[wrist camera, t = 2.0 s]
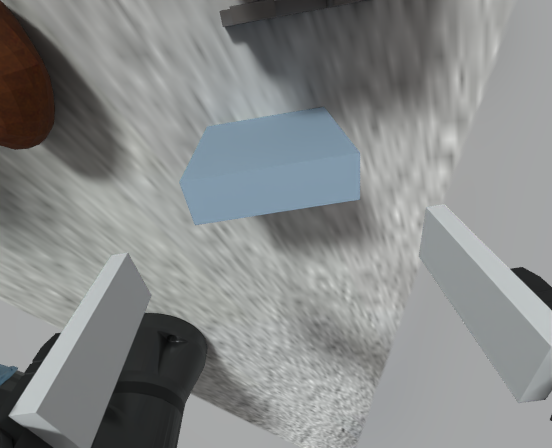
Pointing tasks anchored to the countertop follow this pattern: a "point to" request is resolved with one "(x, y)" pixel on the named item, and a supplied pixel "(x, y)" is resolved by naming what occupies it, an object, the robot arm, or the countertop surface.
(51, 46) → the countertop surface
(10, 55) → the potato
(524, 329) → the robot arm
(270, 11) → the cabinet
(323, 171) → the block
